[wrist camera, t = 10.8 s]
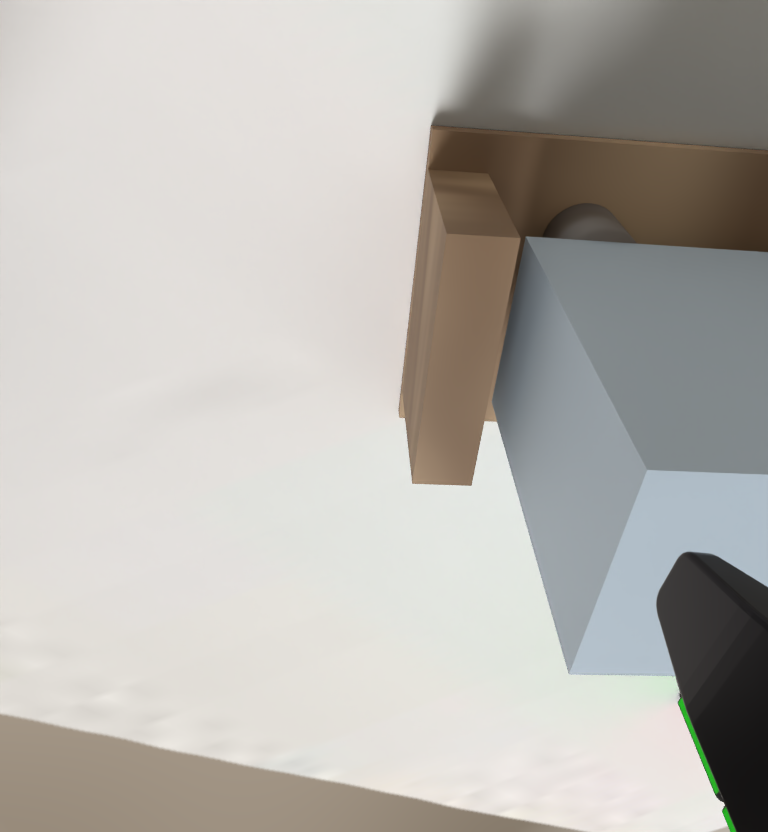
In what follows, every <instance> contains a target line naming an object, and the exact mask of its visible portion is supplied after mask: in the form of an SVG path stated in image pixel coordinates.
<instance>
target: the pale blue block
mask: <svg viewBox="0 0 768 832" xmlns="http://www.w3.org/2000/svg"><path fill="white" fill-rule="evenodd" d="M492 405H493V409H494V412H495V416H496V419H497V423H498V426H499V430H500V433H501V437H502V440H503V444H504V447H505V451H506V454H507V458H508V461H509V465H510V468H511V472H512V475H513V479H514V483H515V486H516V490H517V493H518V497H519V500H520V504H521V507H522V511H523V514H524V518H525V521H526V525H527V528H528V532H529V535H530V539H531V542H532V546H533V549H534V553H535V556H536V560H537V563H538V567H539V571H540V574H541V578H542V581H543V585H544V588H545V592H546V595H547V599H548V602H549V606H550V609H551V613H552V616H553V620H554V623H555V627H556V630H557V634H558V637H559V641H560V644H561V648H562V651H563V655H564V659H565V662H566V666H567V669H568V673H569V674H579V675H647V676H675V673H674V670H673V666H672V663H671V659H670V656H669V652H668V649H667V646H666V642H665V639H664V635H663V632H662V629H661V625H660V622H659V618H658V615H657V609H656V600H657V595H658V592H659V590H660V588H661V586H662V584H663V583H664V581H665V579H666V577H667V576H668V574H669V572H670V570H671V569H672V567H673V565H674V564H675V562H676V560H677V558H678V557H679V556H680V555H681V554H682V553H684V552H688V551H691V552H701V553H710V554H714V555H716V556H718V557H720V558H721V559H723V560H725V561H726V562H728V563H730V564H731V565H733V566H734V567H736V568H738V569H739V570H741V571H743V572H744V573H746V574H747V575H749V576H751V577H752V578H754V579H756V580H757V581H759V582H760V583H762V584H764V585H765V586H767V587H768V252H757V251H742V250H726V249H711V248H696V247H681V246H665V245H650V244H635V243H619V242H604V241H589V240H574V239H558V238H543V237H528V236H526V237H525V242H524V247H523V252H522V257H521V262H520V267H519V271H518V276H517V281H516V286H515V291H514V296H513V301H512V305H511V310H510V315H509V320H508V325H507V330H506V334H505V339H504V344H503V349H502V354H501V359H500V364H499V368H498V373H497V378H496V383H495V388H494V393H493V397H492Z"/></svg>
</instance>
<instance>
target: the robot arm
mask: <svg viewBox="0 0 768 832" xmlns="http://www.w3.org/2000/svg"><path fill="white" fill-rule="evenodd" d="M656 609H657V615H658V618H659V622H660V625H661V629H662V632H663V635H664V639H665V642H666V646H667V649H668V652H669V656H670V659H671V663H672V666H673V670H674V673H675V676H676V680H677V683H678V687H679V690H680V693H681V696H682V699H683V702H684V705H685V708H686V711H687V714H688V716H689V719H690V722H691V724H692V727H693V729H694V732H695V734H696V736H697V739H698V741H699V744H700V746H701V748H702V751H703V753H704V756H705V758H706V761H707V763H708V765H709V768H710V770H711V773H712V775H713V777H714V780H715V782H716V785H717V787H718V789H719V792H720V794H721V797H722V799H723V801H724V804H725V806H726V809H727V811H728V814H729V816H730V818H731V821H732V823H733V826H734V828H735V830H736V832H768V587H767V586H765V585H764V584H762V583H760V582H759V581H757V580H756V579H754V578H752V577H751V576H749V575H747V574H746V573H744V572H743V571H741V570H739V569H738V568H736V567H734V566H733V565H731V564H730V563H728V562H726V561H725V560H723V559H721V558H720V557H718V556H716V555H714V554H710V553H701V552H691V551H688V552H684V553H682V554H681V555H680V556H679V557H678V558H677V560H676V562H675V564H674V565H673V567H672V569H671V570H670V572H669V574H668V576H667V577H666V579H665V581H664V583H663V584H662V586H661V588H660V590H659V592H658V595H657V600H656Z"/></svg>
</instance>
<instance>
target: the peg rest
mask: <svg viewBox="0 0 768 832" xmlns="http://www.w3.org/2000/svg"><path fill="white" fill-rule="evenodd" d="M526 236H528V237H543V238H558V239H574V240H589V241H604V242H619V243H635V244H650V245H665V246H681V247H696V248H711V249H726V250H742V251H757V252H768V151H767V150H753V149H740V148H727V147H713V146H700V145H686V144H673V143H660V142H646V141H633V140H619V139H606V138H593V137H579V136H566V135H553V134H539V133H526V132H512V131H499V130H486V129H472V128H459V127H445V126H432V125H431V130H430V139H429V148H428V156H427V165H426V174H425V183H424V192H423V200H422V209H421V218H420V227H419V235H418V244H417V253H416V262H415V271H414V279H413V288H412V297H411V306H410V315H409V323H408V332H407V341H406V350H405V359H404V367H403V376H402V385H401V394H400V402H399V418H405V421H406V430H407V439H408V448H409V457H410V466H411V475H412V484H439V485H468V486H471V485H472V480H473V475H474V470H475V465H476V460H477V455H478V450H479V445H480V440H481V435H482V430H483V425H484V421H495V422H497V419H496V416H495V412H494V409H493V405H492V397H493V393H494V388H495V383H496V378H497V373H498V368H499V364H500V359H501V354H502V349H503V344H504V339H505V334H506V330H507V325H508V320H509V315H510V310H511V305H512V301H513V296H514V291H515V286H516V281H517V276H518V271H519V267H520V262H521V257H522V252H523V247H524V242H525V237H526Z"/></svg>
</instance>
